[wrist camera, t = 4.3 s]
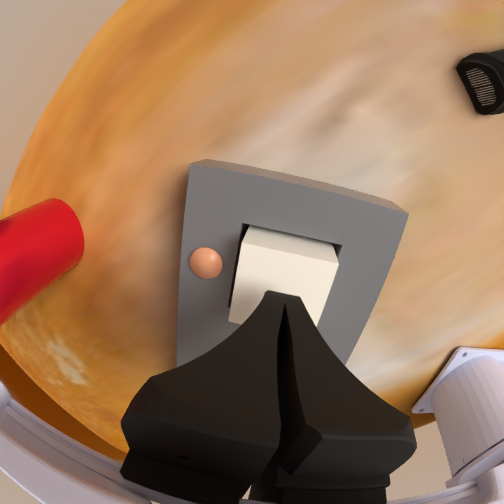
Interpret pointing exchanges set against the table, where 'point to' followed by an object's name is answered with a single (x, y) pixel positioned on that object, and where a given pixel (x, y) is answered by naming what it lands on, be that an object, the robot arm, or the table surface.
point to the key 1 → (282, 271)
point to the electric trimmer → (484, 81)
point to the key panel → (286, 220)
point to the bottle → (36, 252)
